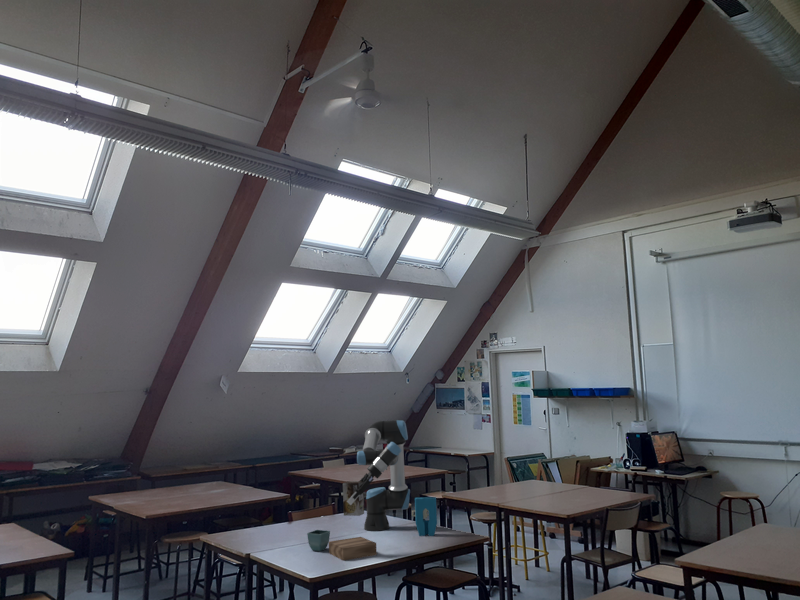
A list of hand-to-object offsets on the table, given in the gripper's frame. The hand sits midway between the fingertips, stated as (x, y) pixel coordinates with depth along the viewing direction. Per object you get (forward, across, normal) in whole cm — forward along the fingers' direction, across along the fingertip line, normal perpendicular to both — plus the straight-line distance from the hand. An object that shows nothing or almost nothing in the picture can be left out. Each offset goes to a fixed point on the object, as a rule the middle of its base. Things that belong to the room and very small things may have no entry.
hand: (347, 501), depth 300 cm
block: (-16, +29, -52) cm, 62 cm away
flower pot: (+28, +15, -8) cm, 32 cm away
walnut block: (+17, 0, -20) cm, 26 cm away
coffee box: (+3, 0, -7) cm, 7 cm away
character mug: (-16, +43, -52) cm, 69 cm away
